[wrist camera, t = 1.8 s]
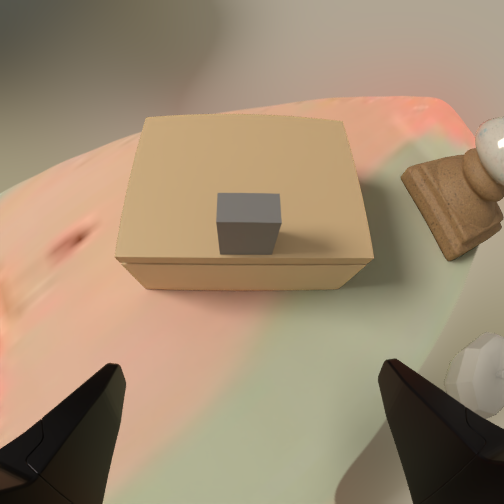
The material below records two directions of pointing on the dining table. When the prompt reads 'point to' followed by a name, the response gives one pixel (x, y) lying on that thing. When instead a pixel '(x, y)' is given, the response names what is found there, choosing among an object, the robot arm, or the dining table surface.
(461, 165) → the candle holder
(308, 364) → the dining table surface
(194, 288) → the wooden box
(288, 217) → the lid
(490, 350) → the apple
